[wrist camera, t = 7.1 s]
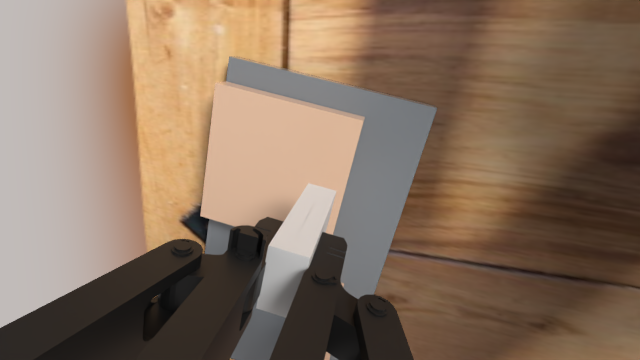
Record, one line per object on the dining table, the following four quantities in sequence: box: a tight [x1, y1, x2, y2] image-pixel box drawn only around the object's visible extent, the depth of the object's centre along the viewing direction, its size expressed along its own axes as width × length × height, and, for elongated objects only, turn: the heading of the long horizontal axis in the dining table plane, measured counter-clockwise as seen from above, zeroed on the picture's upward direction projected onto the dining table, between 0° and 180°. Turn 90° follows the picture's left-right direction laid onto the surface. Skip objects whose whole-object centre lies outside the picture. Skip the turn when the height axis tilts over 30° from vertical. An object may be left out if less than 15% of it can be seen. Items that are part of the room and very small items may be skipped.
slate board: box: [205, 57, 437, 360], centre depth 26 cm, size 24×13×1 cm, turn 167°
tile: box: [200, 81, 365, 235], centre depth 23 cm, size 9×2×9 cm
